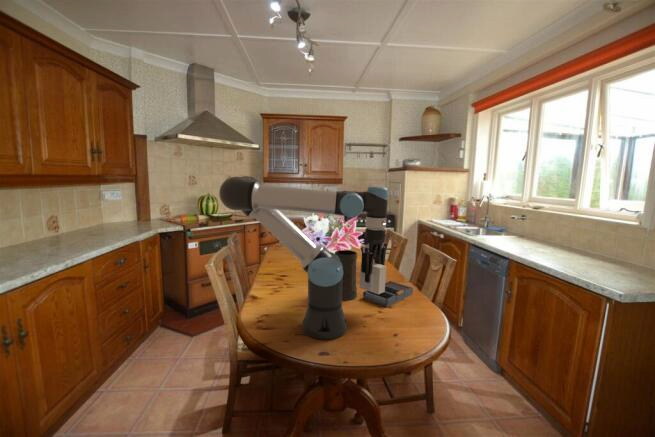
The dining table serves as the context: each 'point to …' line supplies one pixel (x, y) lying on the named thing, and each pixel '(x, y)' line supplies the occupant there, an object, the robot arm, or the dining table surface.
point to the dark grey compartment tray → (389, 294)
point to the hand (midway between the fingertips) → (371, 288)
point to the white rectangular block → (375, 278)
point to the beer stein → (348, 273)
